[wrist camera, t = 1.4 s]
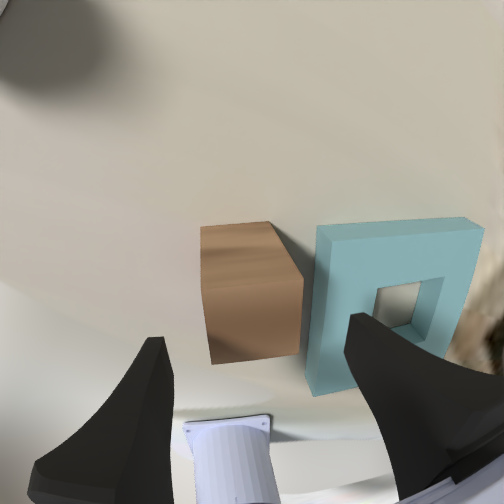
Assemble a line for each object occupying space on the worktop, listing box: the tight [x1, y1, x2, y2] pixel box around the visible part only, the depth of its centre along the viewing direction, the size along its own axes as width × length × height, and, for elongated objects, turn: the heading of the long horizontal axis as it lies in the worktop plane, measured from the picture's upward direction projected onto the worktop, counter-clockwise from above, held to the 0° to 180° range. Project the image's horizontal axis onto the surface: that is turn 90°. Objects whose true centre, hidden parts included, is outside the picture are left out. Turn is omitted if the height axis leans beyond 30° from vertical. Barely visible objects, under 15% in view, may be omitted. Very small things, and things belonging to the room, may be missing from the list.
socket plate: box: [305, 217, 485, 397], centre depth 22 cm, size 13×13×2 cm
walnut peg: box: [201, 221, 304, 365], centre depth 16 cm, size 4×4×7 cm
